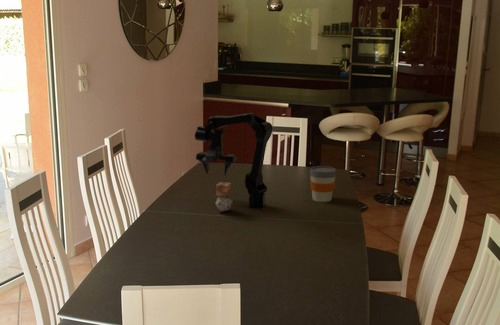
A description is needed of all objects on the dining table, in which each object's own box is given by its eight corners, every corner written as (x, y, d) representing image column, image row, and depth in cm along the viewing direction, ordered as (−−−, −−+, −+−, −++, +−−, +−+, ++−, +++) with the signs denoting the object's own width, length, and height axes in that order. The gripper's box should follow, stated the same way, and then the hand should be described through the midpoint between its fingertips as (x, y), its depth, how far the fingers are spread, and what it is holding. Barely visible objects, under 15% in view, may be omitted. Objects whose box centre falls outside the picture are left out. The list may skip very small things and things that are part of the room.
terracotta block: (230, 193, 248) (230, 182, 247) (226, 196, 243) (226, 185, 242) (220, 192, 249) (220, 181, 248) (216, 195, 245) (216, 184, 243)
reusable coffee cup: (334, 195, 272) (335, 166, 269) (335, 203, 260) (337, 172, 257) (308, 194, 274) (309, 165, 270) (308, 202, 261) (310, 172, 258)
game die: (219, 219, 248) (206, 203, 246) (228, 208, 254) (215, 191, 252) (232, 214, 242) (218, 197, 240) (241, 202, 248) (228, 185, 246)
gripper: (190, 144, 255) (191, 177, 258) (228, 147, 249) (228, 180, 253) (200, 140, 265) (200, 171, 269) (237, 142, 259) (237, 175, 263)
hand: (216, 174), depth 263 cm, fingers open, 9 cm apart
